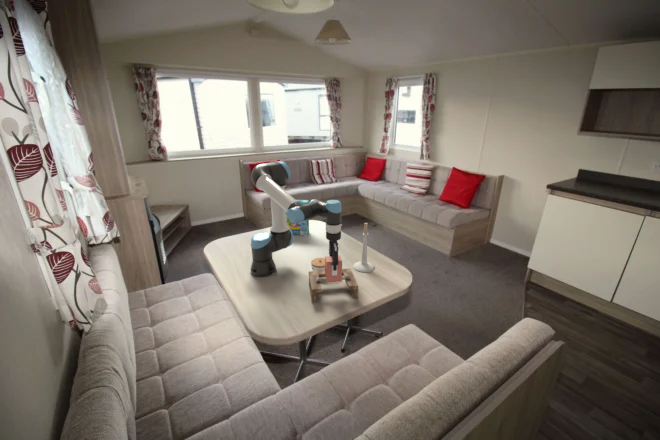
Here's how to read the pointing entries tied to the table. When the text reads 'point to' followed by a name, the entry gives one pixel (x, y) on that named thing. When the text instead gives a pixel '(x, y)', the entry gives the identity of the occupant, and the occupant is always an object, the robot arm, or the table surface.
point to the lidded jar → (318, 264)
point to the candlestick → (364, 255)
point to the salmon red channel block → (329, 270)
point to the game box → (300, 227)
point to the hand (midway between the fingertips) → (333, 271)
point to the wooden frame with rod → (316, 279)
